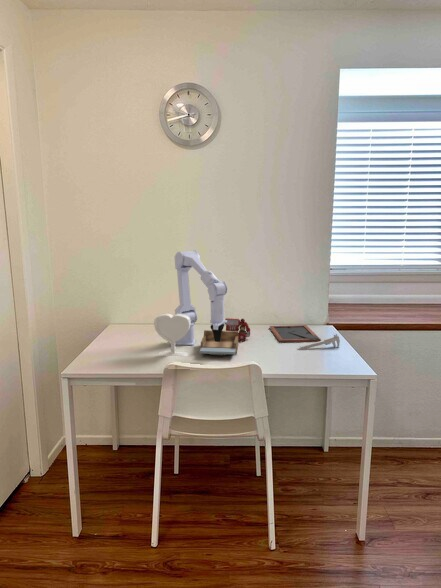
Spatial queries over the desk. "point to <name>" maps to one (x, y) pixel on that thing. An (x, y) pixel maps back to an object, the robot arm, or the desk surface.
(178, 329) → the heart sculpture
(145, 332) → the desk surface
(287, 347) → the desk surface
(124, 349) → the desk surface
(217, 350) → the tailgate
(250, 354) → the desk surface
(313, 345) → the caliper
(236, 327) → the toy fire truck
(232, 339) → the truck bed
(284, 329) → the picture frame
